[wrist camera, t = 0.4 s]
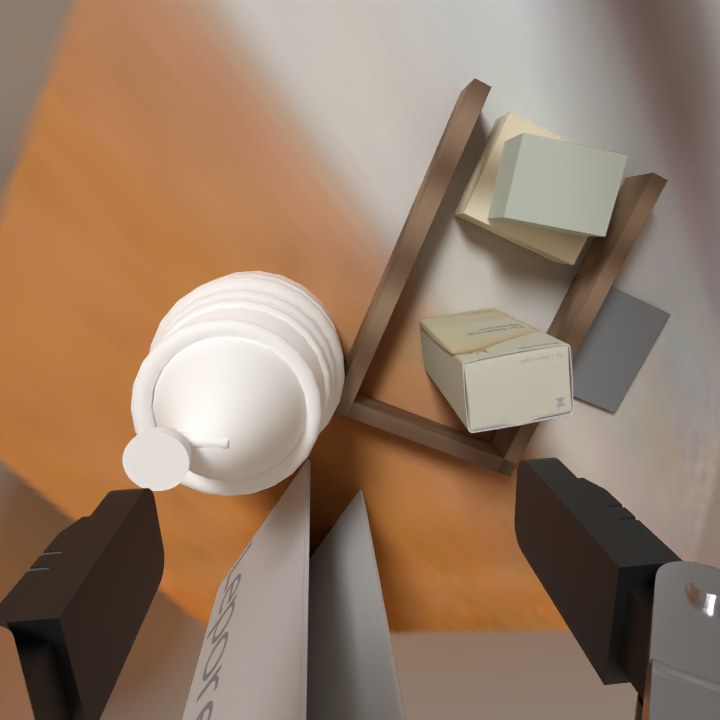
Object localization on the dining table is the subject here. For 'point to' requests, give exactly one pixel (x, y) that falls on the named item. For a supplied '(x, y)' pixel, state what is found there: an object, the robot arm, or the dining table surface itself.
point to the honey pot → (234, 387)
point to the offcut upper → (556, 185)
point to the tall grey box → (299, 625)
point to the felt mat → (615, 349)
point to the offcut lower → (482, 187)
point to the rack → (566, 327)
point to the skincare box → (497, 369)
